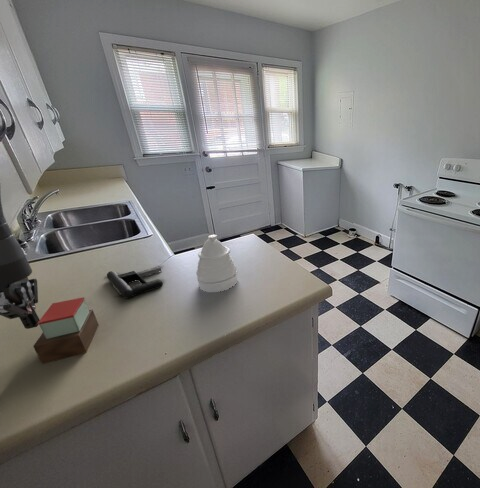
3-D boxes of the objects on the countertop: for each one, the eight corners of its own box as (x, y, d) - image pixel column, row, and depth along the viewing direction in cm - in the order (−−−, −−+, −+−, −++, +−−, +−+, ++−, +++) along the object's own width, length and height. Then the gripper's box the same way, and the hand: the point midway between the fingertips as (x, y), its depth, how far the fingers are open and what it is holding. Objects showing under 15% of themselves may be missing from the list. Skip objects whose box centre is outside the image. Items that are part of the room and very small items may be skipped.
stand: (42, 363, 61) (32, 346, 59) (61, 333, 70) (53, 317, 68) (86, 352, 64) (78, 335, 62) (98, 324, 74) (92, 309, 72)
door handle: (152, 259, 105) (101, 273, 93) (174, 276, 93) (119, 294, 81) (154, 267, 106) (103, 281, 94) (176, 285, 94) (121, 303, 83)
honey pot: (244, 283, 93) (237, 235, 86) (205, 297, 86) (195, 245, 79) (230, 270, 103) (223, 225, 96) (194, 280, 95) (184, 233, 88)
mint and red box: (45, 339, 61) (37, 323, 59) (59, 318, 68) (52, 303, 66) (80, 331, 64) (72, 315, 62) (90, 311, 70) (84, 297, 69)
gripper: (-8, 250, 60) (26, 314, 67) (-52, 277, 49) (-6, 350, 56) (36, 244, 63) (65, 306, 70) (4, 268, 52) (42, 339, 59)
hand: (33, 326), depth 63 cm, fingers closed
